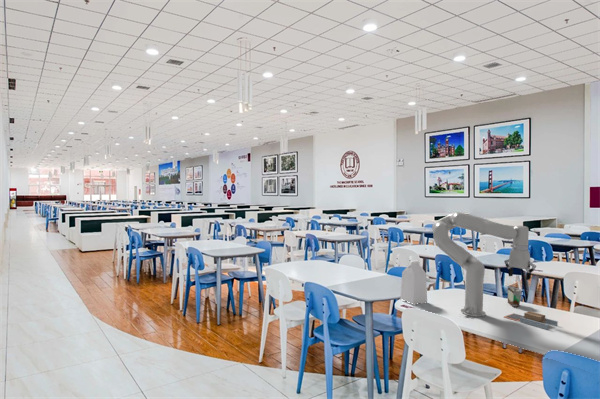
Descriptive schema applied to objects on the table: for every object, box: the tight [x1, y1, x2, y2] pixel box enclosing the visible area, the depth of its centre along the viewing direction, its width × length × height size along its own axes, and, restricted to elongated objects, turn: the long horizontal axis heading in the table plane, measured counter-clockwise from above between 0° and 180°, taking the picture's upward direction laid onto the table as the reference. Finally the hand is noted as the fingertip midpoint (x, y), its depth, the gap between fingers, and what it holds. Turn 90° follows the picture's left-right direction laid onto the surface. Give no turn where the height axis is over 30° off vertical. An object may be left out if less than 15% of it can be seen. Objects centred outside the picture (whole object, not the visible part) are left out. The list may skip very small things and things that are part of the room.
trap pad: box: [503, 312, 524, 322], centre depth 218 cm, size 11×8×1 cm
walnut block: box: [523, 310, 546, 324], centre depth 209 cm, size 6×8×5 cm
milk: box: [399, 260, 428, 305], centre depth 247 cm, size 12×12×26 cm
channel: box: [519, 317, 559, 331], centre depth 208 cm, size 11×14×2 cm
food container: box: [506, 286, 522, 308], centre depth 241 cm, size 12×6×10 cm, turn 168°
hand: (519, 277), depth 218 cm, fingers open, 9 cm apart
